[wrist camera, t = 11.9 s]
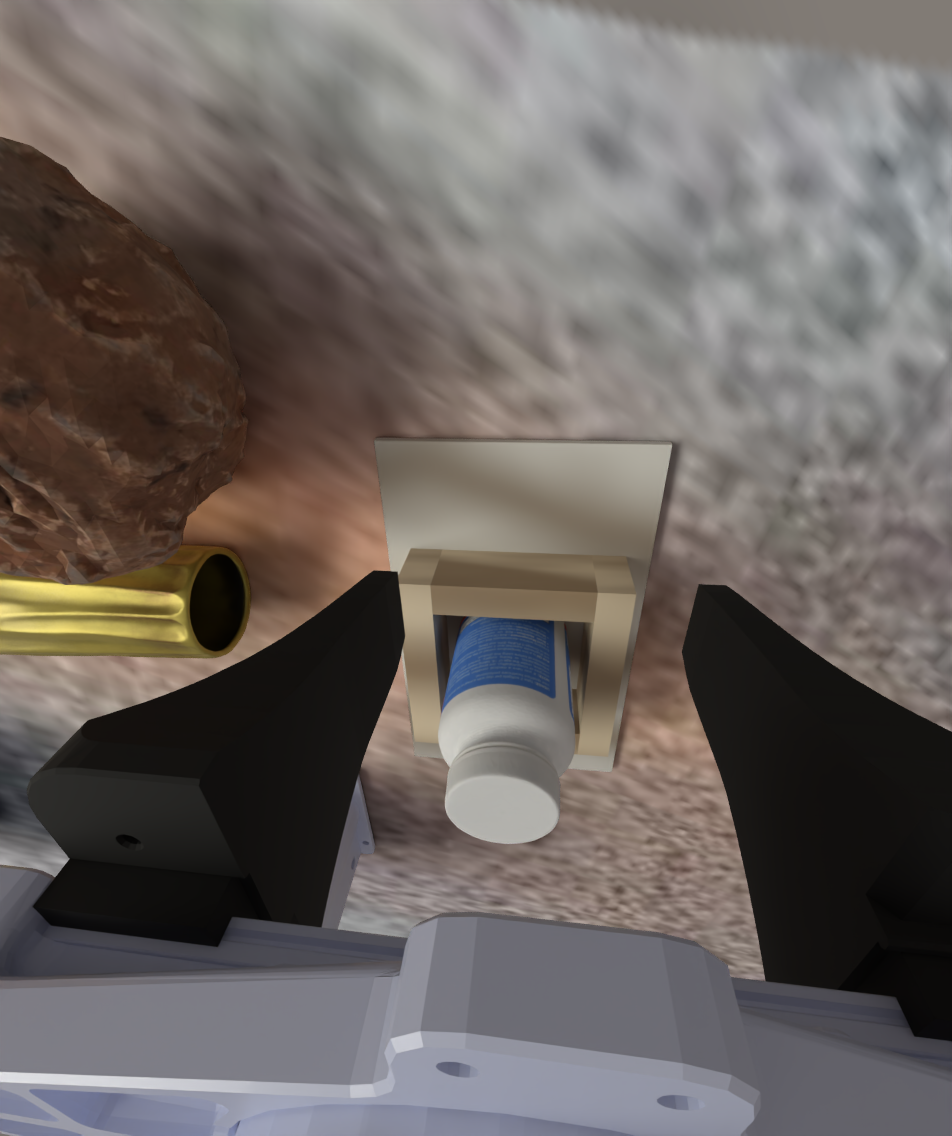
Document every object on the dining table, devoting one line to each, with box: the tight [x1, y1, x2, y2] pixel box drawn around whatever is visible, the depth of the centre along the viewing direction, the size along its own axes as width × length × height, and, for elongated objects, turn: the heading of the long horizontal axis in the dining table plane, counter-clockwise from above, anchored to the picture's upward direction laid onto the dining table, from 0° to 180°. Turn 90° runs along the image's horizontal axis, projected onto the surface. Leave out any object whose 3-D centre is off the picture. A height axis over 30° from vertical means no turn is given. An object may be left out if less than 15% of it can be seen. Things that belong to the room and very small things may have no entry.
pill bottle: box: [438, 616, 575, 844], centre depth 21 cm, size 6×5×10 cm
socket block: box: [374, 438, 672, 772], centre depth 25 cm, size 20×12×3 cm, turn 1°
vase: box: [0, 545, 251, 658], centre depth 24 cm, size 6×6×14 cm
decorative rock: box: [0, 137, 248, 585], centre depth 17 cm, size 13×11×10 cm
